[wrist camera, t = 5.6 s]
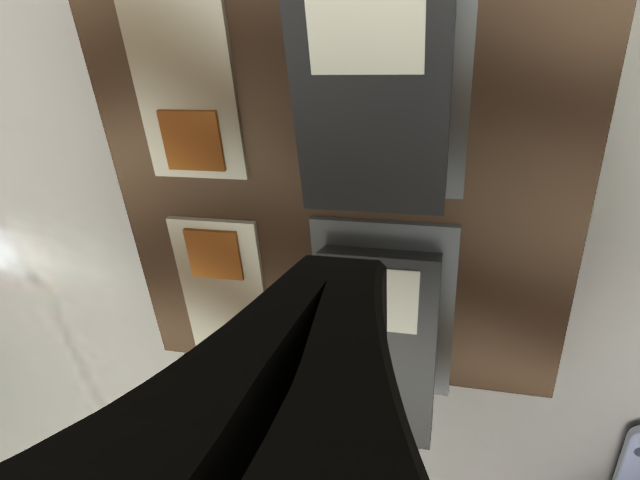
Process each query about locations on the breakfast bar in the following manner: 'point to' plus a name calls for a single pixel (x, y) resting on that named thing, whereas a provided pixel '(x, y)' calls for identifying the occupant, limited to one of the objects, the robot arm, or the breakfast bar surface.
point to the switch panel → (353, 226)
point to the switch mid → (371, 101)
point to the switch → (409, 326)
